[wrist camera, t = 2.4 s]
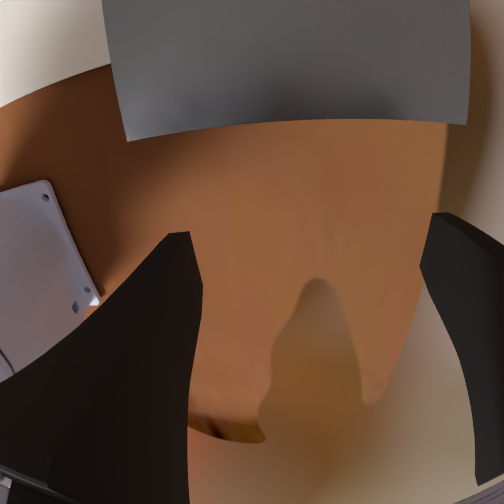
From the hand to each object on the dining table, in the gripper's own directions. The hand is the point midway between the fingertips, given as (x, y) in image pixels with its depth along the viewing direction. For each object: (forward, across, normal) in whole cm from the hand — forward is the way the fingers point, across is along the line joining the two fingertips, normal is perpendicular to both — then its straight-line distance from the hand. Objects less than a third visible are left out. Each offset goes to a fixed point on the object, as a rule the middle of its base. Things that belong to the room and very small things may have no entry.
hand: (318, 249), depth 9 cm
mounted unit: (+7, 0, -6) cm, 10 cm away
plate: (+7, +11, -10) cm, 17 cm away
